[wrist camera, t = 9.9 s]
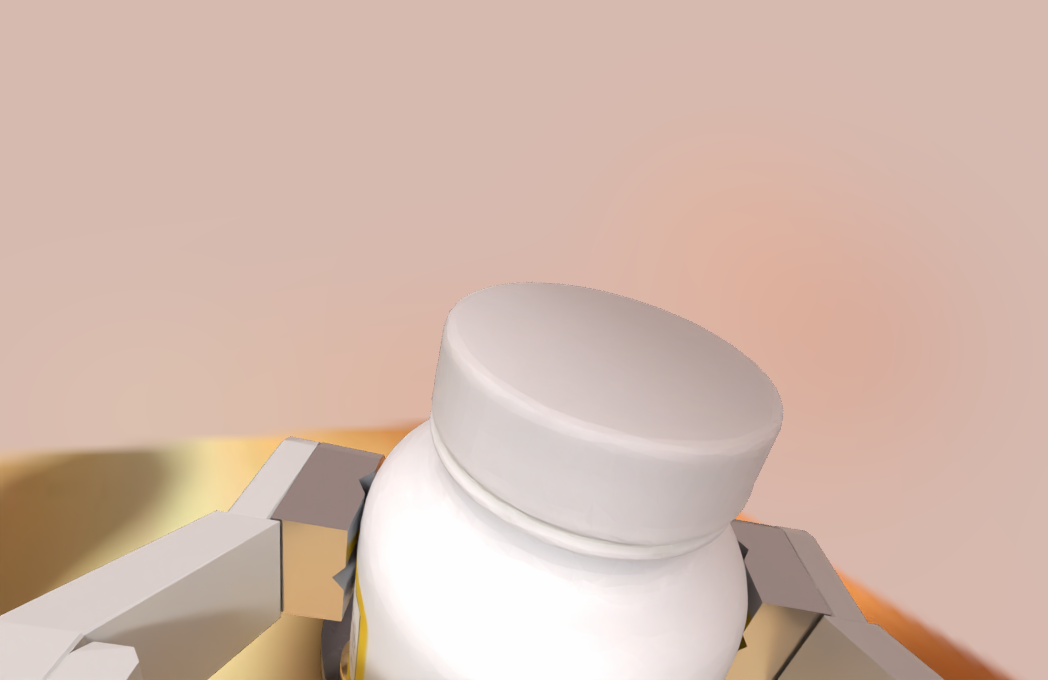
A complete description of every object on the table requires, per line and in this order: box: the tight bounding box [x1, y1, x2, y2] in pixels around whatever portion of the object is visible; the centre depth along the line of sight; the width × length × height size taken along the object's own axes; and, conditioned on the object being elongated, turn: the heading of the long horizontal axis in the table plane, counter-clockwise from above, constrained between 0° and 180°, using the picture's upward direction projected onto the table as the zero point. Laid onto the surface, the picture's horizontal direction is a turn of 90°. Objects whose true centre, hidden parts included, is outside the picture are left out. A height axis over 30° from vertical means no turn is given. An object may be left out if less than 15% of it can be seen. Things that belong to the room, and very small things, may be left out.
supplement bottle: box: [346, 282, 783, 680], centre depth 8 cm, size 5×5×10 cm
